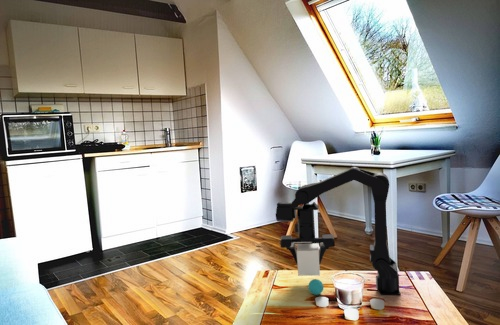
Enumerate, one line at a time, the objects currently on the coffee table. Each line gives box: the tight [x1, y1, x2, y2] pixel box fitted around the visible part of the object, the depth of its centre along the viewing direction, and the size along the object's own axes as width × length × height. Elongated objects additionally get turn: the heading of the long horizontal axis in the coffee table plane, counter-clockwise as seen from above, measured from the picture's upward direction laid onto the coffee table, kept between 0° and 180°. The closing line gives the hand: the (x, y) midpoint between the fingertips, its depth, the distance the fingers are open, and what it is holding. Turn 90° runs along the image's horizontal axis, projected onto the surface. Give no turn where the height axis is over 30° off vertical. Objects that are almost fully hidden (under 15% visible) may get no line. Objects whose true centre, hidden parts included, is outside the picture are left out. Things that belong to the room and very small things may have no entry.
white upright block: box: [296, 243, 321, 277], centre depth 130 cm, size 8×8×9 cm
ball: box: [308, 278, 324, 296], centre depth 123 cm, size 5×5×5 cm
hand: (308, 264), depth 130 cm, fingers closed on white upright block, 7 cm apart
